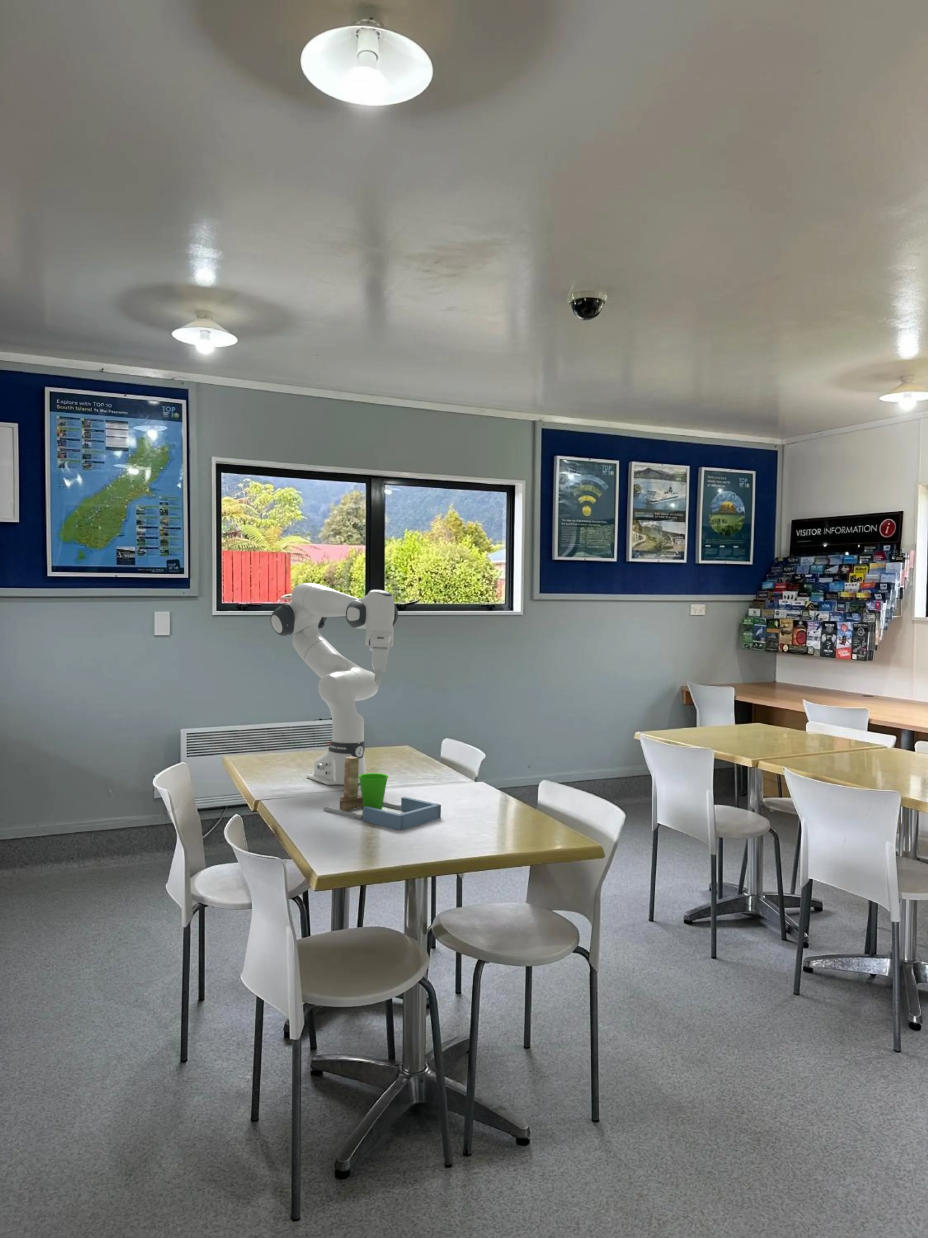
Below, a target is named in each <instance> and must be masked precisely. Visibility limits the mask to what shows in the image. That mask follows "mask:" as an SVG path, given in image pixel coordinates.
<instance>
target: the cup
mask: <svg viewBox="0 0 928 1238" xmlns="http://www.w3.org/2000/svg"><path fill="white" fill-rule="evenodd" d="M359 778H360V783H359V784H360V790H361V795H362V800H363V807H365V806H368V807H372V808H377V809H381V810H383V806H382V805H383V801H384V800H385V799H384V798H385V792H386V789H387V788H386V787H387V781H388V778H389V775H388V774H385V773H380V772H369V773H368V772H366V774H361V775H359ZM363 807H362V808H363Z"/></svg>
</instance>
